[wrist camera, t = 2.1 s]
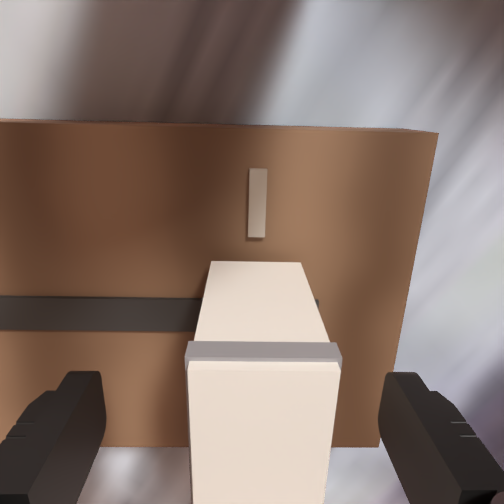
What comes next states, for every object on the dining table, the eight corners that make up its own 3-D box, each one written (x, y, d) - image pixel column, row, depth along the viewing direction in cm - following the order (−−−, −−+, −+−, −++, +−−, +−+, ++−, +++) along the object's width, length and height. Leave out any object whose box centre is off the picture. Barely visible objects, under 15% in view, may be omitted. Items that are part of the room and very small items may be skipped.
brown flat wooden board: (403, 128, 15) (443, 133, 12) (359, 400, 20) (380, 452, 17) (-309, 110, 15) (-456, 111, 12) (-174, 397, 20) (-251, 451, 17)
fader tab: (303, 259, 13) (346, 367, 8) (294, 378, 15) (323, 534, 10) (208, 258, 13) (182, 365, 8) (210, 377, 15) (190, 534, 10)
